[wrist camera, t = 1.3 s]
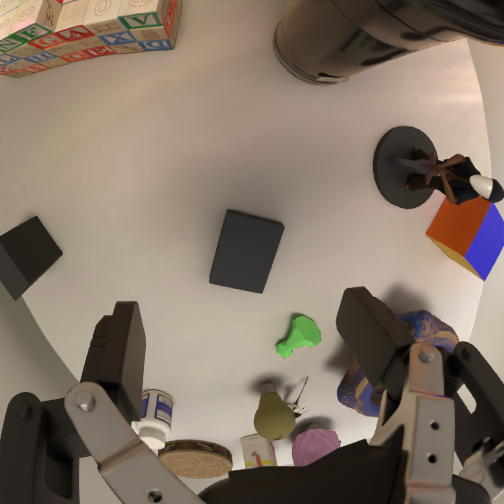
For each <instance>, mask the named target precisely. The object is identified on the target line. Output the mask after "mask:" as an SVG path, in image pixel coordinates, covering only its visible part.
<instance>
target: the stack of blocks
mask: <svg viewBox="0 0 504 504" xmlns="http://www.w3.org/2000/svg"><path fill="white" fill-rule="evenodd" d="M181 8H182V3H181V0H0V75H4V76H8V77H15V78H19V77H21V76H24V75H27V74H30V73H35V72H39V71H42V70H45V69H49V68H52V67H57V66H60V65H64V64H69V63H71V62H73V61H78V60H83V59H87V58H93V57H96V56H102V55H108V54H115V53H118V54H121V53H129V52H140V51H150V50H166V49H174V43H175V38H176V32H177V27H178V23H179V18H180V14H181Z"/></svg>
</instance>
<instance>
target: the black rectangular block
mask: <svg viewBox="0 0 504 504" xmlns="http://www.w3.org/2000/svg"><path fill="white" fill-rule="evenodd" d="M62 254H63V253H62V252H61V250H60V249H59V248H58V246H57V245H56V243H55V242H54V241H53V239H52V238H51V236H50V235H49V234H48V232H47V231H46V229H45V228H44V226H43V225H42V223H41V222H40V220H39V219H38V217H37V216H35V217H33V218H31V219H29V220H27V221H26V222H24V223H22V224H20V225H18V226H17V227H15V228H13V229H11V230H10V231H8V232H6V233H5V234H3V235H1V236H0V281H1V282H2V284H3V285H4V286H5V288H6V289H7V290H8V292H9V293H10V295H11V296H12V297H13V298H14V300H15V301H16V300H17V299H18V298H19V297H20V296H21V295H22V294H23V293H24V292H25V291H26V290H27V289H28V288H29V287H30V286H31V285H32V284H33V283H34V282H35V281H36V280H37V279H38V278H39V277H40V276H42V275H43V274H44V273H45V272H46V271H47V270H48V269H49V268H50V267H51V266H52V265H53V264H54V262H55V261H56V260H57V259H58V258H59V257H60V256H61V255H62Z"/></svg>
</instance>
